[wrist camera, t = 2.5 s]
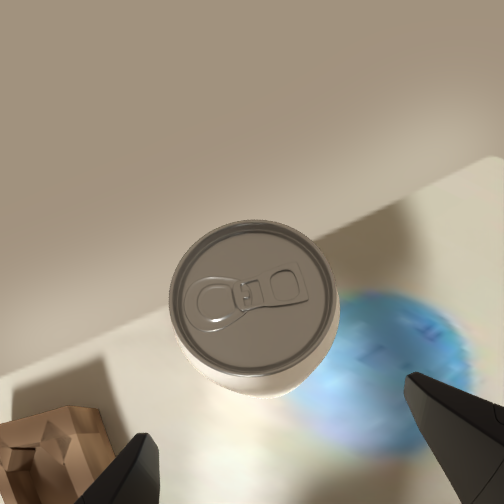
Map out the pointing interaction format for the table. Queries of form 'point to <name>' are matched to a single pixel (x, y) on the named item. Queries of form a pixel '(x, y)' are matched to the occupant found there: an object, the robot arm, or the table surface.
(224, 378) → the can
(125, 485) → the robot arm
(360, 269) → the table surface
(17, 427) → the socket block
